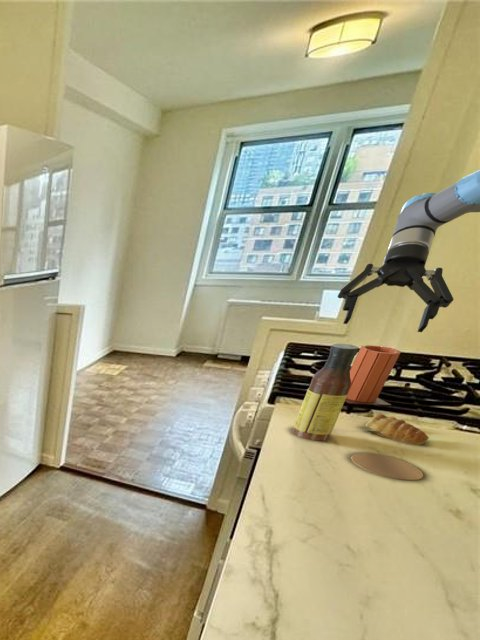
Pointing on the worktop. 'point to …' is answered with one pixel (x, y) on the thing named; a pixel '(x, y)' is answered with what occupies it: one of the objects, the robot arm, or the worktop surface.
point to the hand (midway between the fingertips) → (383, 324)
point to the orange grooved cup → (371, 372)
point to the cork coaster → (387, 466)
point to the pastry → (396, 430)
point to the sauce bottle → (326, 395)
